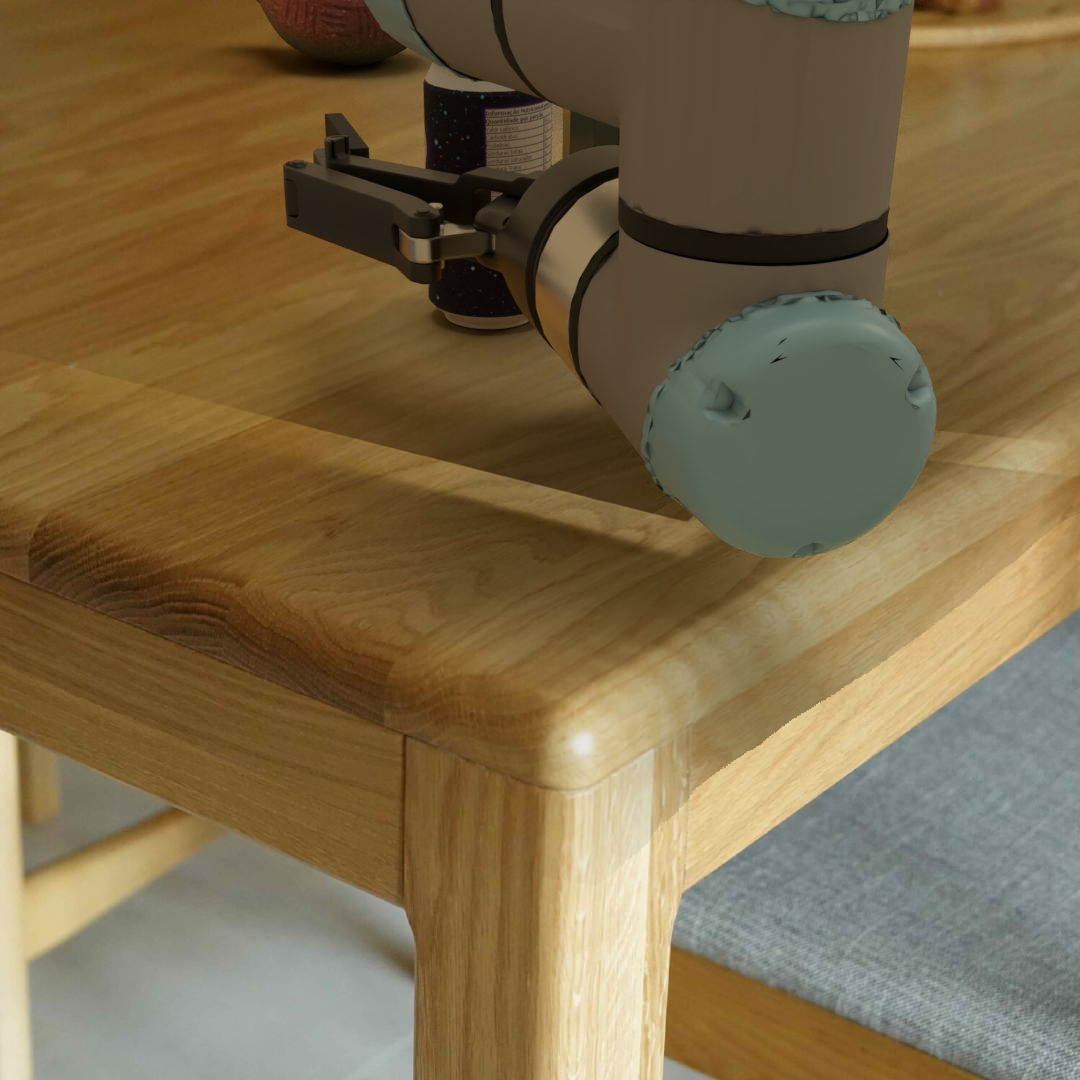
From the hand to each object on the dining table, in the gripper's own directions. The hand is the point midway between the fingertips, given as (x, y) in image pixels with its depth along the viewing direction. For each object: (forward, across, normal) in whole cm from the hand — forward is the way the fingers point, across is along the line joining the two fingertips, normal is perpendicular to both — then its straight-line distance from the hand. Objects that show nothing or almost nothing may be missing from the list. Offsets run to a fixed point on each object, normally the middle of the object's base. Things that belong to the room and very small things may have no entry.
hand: (483, 134), depth 74 cm
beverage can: (-1, 0, -8) cm, 8 cm away
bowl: (+59, +2, -8) cm, 60 cm away
